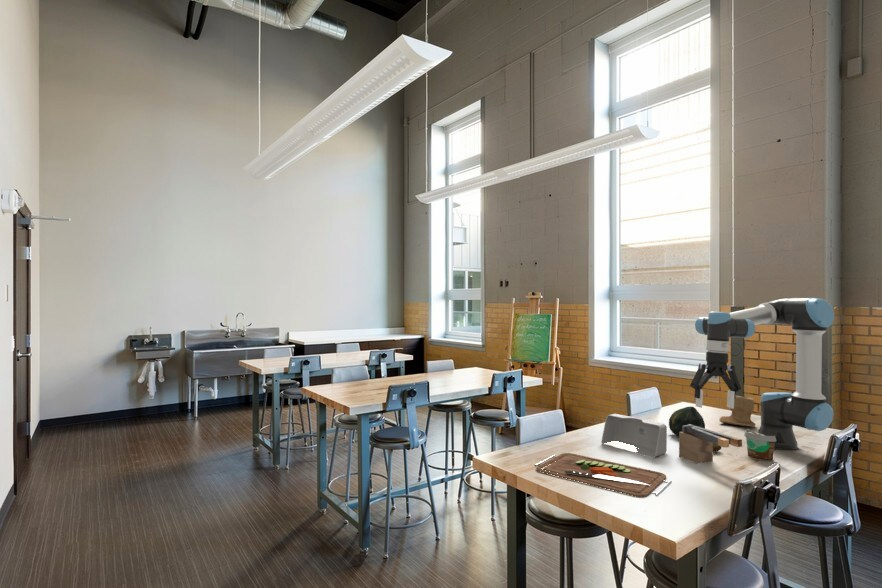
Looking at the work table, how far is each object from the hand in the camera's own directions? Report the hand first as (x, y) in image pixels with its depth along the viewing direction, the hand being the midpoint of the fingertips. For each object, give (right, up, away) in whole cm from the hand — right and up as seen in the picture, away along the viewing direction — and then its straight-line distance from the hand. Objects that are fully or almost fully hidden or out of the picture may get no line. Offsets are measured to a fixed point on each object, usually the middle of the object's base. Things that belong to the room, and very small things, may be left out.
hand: (714, 407), depth 193 cm
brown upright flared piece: (+47, -24, +64) cm, 83 cm away
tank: (-20, -23, +24) cm, 39 cm away
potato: (+6, -23, +21) cm, 32 cm away
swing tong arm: (-3, -12, 0) cm, 13 cm away
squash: (+10, -23, +43) cm, 50 cm away
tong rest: (-1, -23, +2) cm, 23 cm away
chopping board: (-47, -23, -9) cm, 53 cm away
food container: (+23, -23, +11) cm, 34 cm away
